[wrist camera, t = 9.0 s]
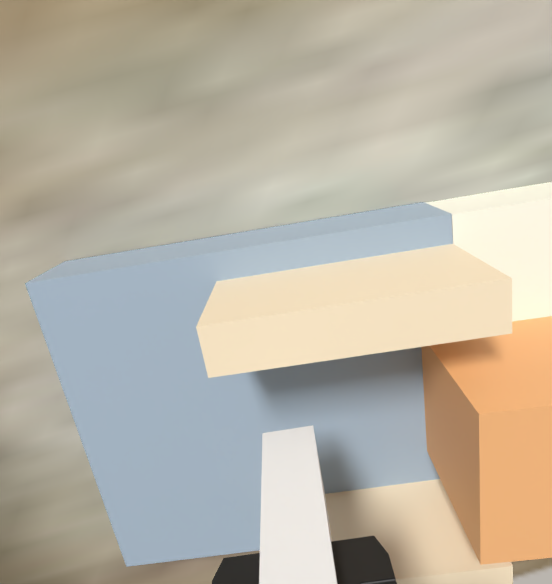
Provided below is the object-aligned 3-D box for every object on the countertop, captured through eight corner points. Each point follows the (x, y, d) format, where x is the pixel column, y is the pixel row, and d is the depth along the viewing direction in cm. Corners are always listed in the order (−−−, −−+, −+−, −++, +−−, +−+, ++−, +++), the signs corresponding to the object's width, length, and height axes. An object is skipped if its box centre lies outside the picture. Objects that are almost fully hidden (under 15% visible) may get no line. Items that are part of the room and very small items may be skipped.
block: (426, 450, 18) (480, 564, 13) (420, 333, 16) (478, 414, 11) (558, 434, 17) (663, 546, 13) (564, 314, 16) (687, 389, 11)
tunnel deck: (146, 512, 22) (89, 669, 16) (64, 261, 18) (-58, 329, 12) (736, 435, 21) (952, 574, 14) (790, 141, 17) (1128, 141, 10)
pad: (441, 474, 22) (465, 525, 19) (424, 203, 17) (451, 214, 15) (559, 459, 21) (602, 508, 18) (569, 179, 17) (626, 186, 14)
